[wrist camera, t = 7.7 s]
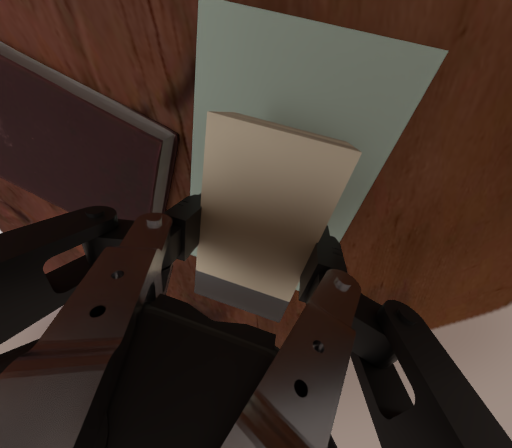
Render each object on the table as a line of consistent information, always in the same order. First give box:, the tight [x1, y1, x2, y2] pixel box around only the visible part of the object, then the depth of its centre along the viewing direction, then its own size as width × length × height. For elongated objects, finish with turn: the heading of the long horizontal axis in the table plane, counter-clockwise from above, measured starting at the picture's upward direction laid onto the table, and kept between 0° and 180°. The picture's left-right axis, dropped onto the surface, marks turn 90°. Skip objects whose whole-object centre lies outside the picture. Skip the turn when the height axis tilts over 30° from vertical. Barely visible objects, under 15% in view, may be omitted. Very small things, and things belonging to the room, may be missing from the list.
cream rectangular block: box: [194, 111, 362, 322], centre depth 11 cm, size 10×6×3 cm, turn 167°
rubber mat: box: [190, 0, 448, 291], centre depth 16 cm, size 14×20×1 cm
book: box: [0, 41, 178, 221], centre depth 18 cm, size 12×19×3 cm, turn 65°
